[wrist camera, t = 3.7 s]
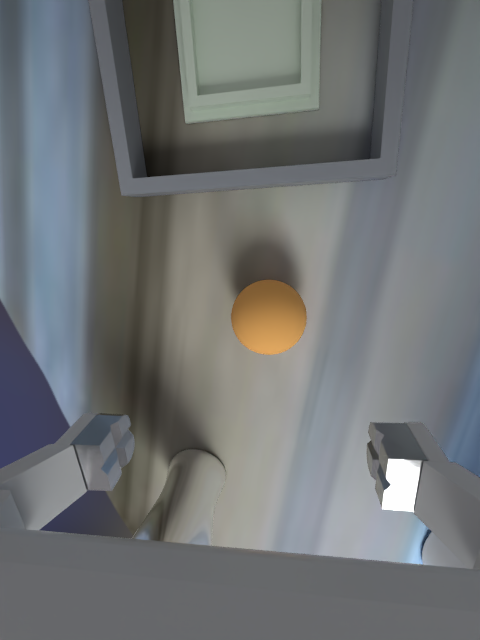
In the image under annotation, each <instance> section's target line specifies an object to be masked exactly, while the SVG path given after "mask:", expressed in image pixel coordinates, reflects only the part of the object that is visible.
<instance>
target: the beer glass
mask: <svg viewBox="0 0 480 640" xmlns="http://www.w3.org/2000/svg"><path fill="white" fill-rule="evenodd" d="M225 481H226V471H225V468H224V466H223V464H222V463H221V462H220V461H219V460H218V459H217V458H216V457H215V456H214V455H212V454H210V453H208V452H206V451H203V450H199V449H187V450H183V451H181V452H179V453H177V454H176V455H175V456H174V457H173V459H172V460H171V462H170V465H169V469H168V473H167V478H166V482H165V485H164V488H163V490H162V492H161V494H160V496H159V498H158V500H157V501H156V503H155V504H154V506H153V508H152V509H151V510H150V512H149V513H148V515H147V516H146V518H145V519H144V521H143V522H142V524H141V525H140V527H139V528H138V530H137V531H136V533H135V534H134V536H133V538H132V539H140V540H152V541H163V542H175V543H186V544H197V545H208V546H212V534H213V518H214V512H215V507H216V503H217V501H218V498H219V496H220V494H221V492H222V489H223V487H224V484H225Z"/></svg>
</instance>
